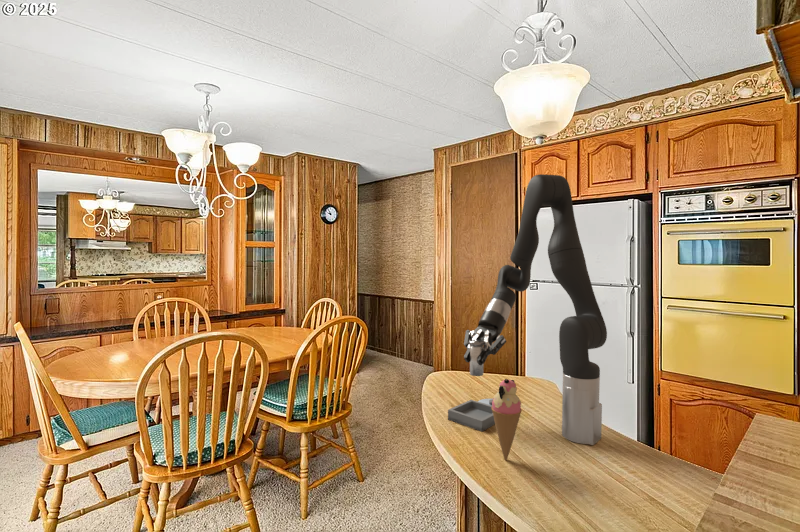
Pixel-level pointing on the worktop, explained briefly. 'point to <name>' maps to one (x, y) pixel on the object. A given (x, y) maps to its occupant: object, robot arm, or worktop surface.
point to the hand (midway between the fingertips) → (472, 362)
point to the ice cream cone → (506, 414)
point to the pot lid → (486, 401)
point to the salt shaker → (475, 357)
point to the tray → (472, 415)
